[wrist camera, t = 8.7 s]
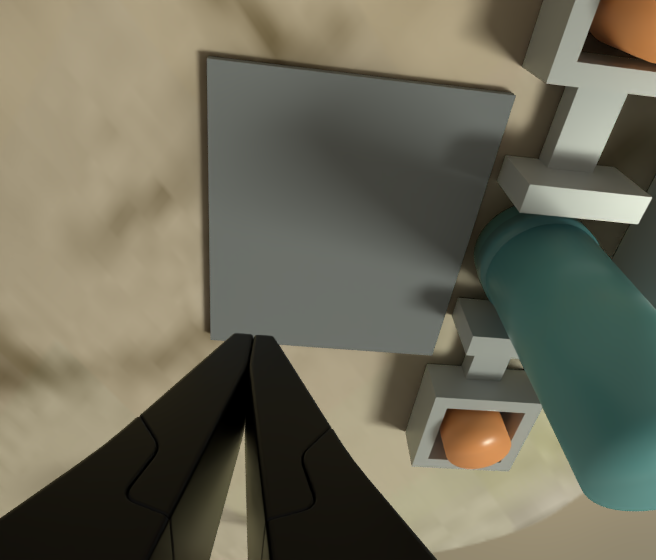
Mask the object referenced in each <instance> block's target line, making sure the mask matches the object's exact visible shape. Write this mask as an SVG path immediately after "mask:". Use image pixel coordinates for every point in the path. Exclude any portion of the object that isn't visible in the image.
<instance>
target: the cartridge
mask: <svg viewBox="0 0 656 560" xmlns="http://www.w3.org/2000/svg"><path fill="white" fill-rule="evenodd" d="M474 263H475V267H476V269H477V275H478V278H479V281H480V283H481V285H482V287H483V289H484V291H485V293H486V295H487V297H488V299H489V301H490V302H491V303H492V304H493V305H494V307H495V309H496V311H497V313H498V315H499V317H500V320H501V322H502V324H503V326H504V328H505V330H506V332H507V334H508V336H509V338H510V341H511V343H512V345H513V347H514V349H515V351H516V353H517V355H518V357H519V359H520V361H521V364H522V366H523V368H524V370H525V372H526V374H527V376H528V378H529V380H530V382H531V384H532V387H533V389H534V391H535V393H536V395H537V397H538V399H539V401H540V403H541V405H542V408H543V410H544V412H545V414H546V416H547V418H548V420H549V422H550V424H551V426H552V428H553V431H554V433H555V435H556V437H557V439H558V441H559V443H560V445H561V447H562V449H563V451H564V454H565V456H566V458H567V460H568V462H569V464H570V466H571V468H572V470H573V472H574V475H575V477H576V479H577V481H578V483H579V485H580V487H581V489H582V491H583V493H584V494H585V495H586V496H587V497H588V498H589V499H590V500H591V501H593V502H594V503H596V504H599V505H601V506H603V507H606V508H610V509H615V510H622V511H648V510H656V309H655V308H654V307H653V306H652V305H651V303H650V302H649V301H648V300H647V299H646V298H645V297H644V296H643V295H642V293H641V292H640V291H639V290H638V289H637V288H636V287H635V286H634V284H633V283H632V282H631V281H630V280H629V279H628V278H627V277H626V275H625V274H624V273H623V272H622V271H621V270H620V269H619V268H618V266H617V265H616V264H615V263H614V262H613V261H612V260H611V259H610V257H609V256H608V255H607V254H606V253H605V252H604V251H603V250H602V249H601V247H600V246H599V243H598V241H597V240H596V238H595V237H594V236H593V235H592V233H591V232H590V231H589V230H588V229H587V228H586V227H585V226H584V225H583V223H582V222H581V221H580V220H579V219H578V218H570V217H560V216H549V215H539V214H529V213H519V211H518V210H517V208H516V207H515V206H513V207H511V208H509V209H507V210H505V211H503V212H502V213H500V214H499V215H497V216H496V217H495V218H493V219H492V220H491V221H490V222H489V223H488V224H487V225H486V227H485V228H484V229H483V230H482V232H481V234H480V235H479V237H478V239H477V242H476V245H475V249H474Z"/></svg>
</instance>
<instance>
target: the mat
mask: <svg viewBox="0 0 656 560" xmlns="http://www.w3.org/2000/svg"><path fill="white" fill-rule="evenodd" d="M515 96H516V95H514V94H513V93H509V92H501V91H493V90H485V89H477V88H468V87H460V86H452V85H444V84H435V83H427V82H419V81H411V80H402V79H394V78H386V77H378V76H369V75H361V74H353V73H345V72H336V71H328V70H320V69H312V68H304V67H295V66H287V65H279V64H271V63H262V62H254V61H246V60H238V59H229V58H221V57H213V56H208V57H207V106H208V181H209V255H210V330H211V340H221V341H226V340H227V339H228V338H229V337H230V336H231V335H233V334H234V333H244V334H252V335H253V338H254V336H255V335H269V336H273V337H274V338H275V339H276V341H277V343H278V344H279V345H291V346H306V347H320V348H334V349H348V350H362V351H376V352H390V353H404V354H418V355H432V354H433V351H434V348H435V345H436V342H437V338H438V335H439V332H440V329H441V326H442V323H443V320H444V317H445V314H446V311H447V307H448V304H449V301H450V298H451V295H452V292H453V289H454V286H455V283H456V279H457V276H458V273H459V270H460V267H461V264H462V261H463V258H464V255H465V252H466V248H467V245H468V242H469V239H470V236H471V233H472V230H473V227H474V224H475V221H476V217H477V214H478V211H479V208H480V205H481V202H482V199H483V196H484V193H485V190H486V186H487V183H488V180H489V177H490V174H491V171H492V168H493V165H494V162H495V159H496V155H497V152H498V149H499V146H500V143H501V140H502V137H503V134H504V131H505V128H506V124H507V121H508V118H509V115H510V112H511V109H512V106H513V103H514V100H515Z"/></svg>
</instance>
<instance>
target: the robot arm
mask: <svg viewBox="0 0 656 560" xmlns="http://www.w3.org/2000/svg"><path fill="white" fill-rule="evenodd" d="M244 427H245V468H246V506H247V543H248V560H437V559H436V558H435V557H434V556H433V554H432V553H431V552H430V551H429V550H428V548H427V547H426V546H425V545H424V544H423V543H422V541H421V540H420V539H419V538H418V537H417V535H416V534H415V533H414V532H413V531H412V530H411V528H410V527H409V526H408V525H407V524H406V522H405V521H404V520H403V519H402V518H401V517H400V515H399V514H398V513H397V512H396V511H395V510H394V508H393V507H392V506H391V505H390V504H389V502H388V501H387V500H386V499H385V498H384V497H383V495H382V494H381V493H380V492H379V491H378V489H377V488H376V487H375V486H374V485H373V484H372V482H371V481H370V480H369V479H368V478H367V476H366V475H365V474H364V473H363V471H362V470H361V469H360V468H359V466H358V465H357V464H356V463H355V461H354V460H353V459H352V457H351V456H350V454H349V453H348V452H347V450H346V449H345V447H344V446H343V444H342V443H341V441H340V440H339V438H338V437H337V435H336V433H335V432H334V430H333V429H331V426H330V425H329V423H328V422H327V420H326V418H325V417H324V415H323V414H322V412H321V411H320V409H319V407H318V406H317V404H316V403H315V401H314V399H313V398H312V396H311V395H310V393H309V392H308V390H307V388H306V387H305V385H304V384H303V382H302V380H301V379H300V377H299V376H298V374H297V373H296V371H295V369H294V368H293V366H292V365H291V363H290V361H289V360H288V358H287V357H286V355H285V354H284V352H283V350H282V349H281V347H280V346H279V344H278V343H277V341H276V339H275V338H274V337H273V336H269V335H255V336H254V338H253V335H252V334H244V333H234V334H233V335H231V336H230V337H229V338H228V339H227V340H226V341H225V342H223V343H222V344H221V345H220V346H219V347H218V348H217V349H215V350H214V351H213V352H212V353H211V354H210V355H209V356H207V357H206V358H205V359H204V360H203V361H202V362H201V363H199V364H198V365H197V366H196V367H195V368H194V369H193V370H191V371H190V372H189V373H188V374H187V375H186V376H184V377H183V378H182V379H181V380H180V381H179V382H178V383H176V384H175V385H174V386H173V387H172V388H171V389H170V390H168V391H167V392H166V393H165V394H164V395H163V396H162V397H160V398H159V399H158V400H157V401H156V402H155V403H154V404H152V405H151V406H150V407H149V408H148V409H147V410H146V411H144V412H143V413H142V414H141V415H140V417H137V418H135V419H134V420H133V421H132V422H131V423H130V424H129V425H127V426H126V427H125V428H124V429H123V430H121V431H120V432H119V433H118V434H117V435H115V436H114V437H113V438H112V439H111V440H109V441H108V442H107V443H106V444H104V445H103V446H102V447H100V448H99V449H98V450H96V451H95V452H94V453H92V454H91V455H89V456H88V457H87V458H85V459H84V460H83V461H81V462H80V463H79V464H77V465H76V466H74V467H73V468H71V469H70V470H69V471H67V472H66V473H64V474H63V475H61V476H60V477H59V478H57V479H56V480H54V481H53V482H51V483H50V484H49V485H47V486H46V487H44V488H43V489H41V490H40V491H39V492H37V493H36V494H34V495H33V496H31V497H30V498H28V499H27V500H26V501H24V502H23V503H21V504H20V505H18V506H17V507H16V508H14V509H13V510H11V511H10V512H8V513H7V514H6V515H4V516H3V517H1V518H0V560H210V556H211V552H212V548H213V545H214V541H215V537H216V534H217V530H218V526H219V523H220V519H221V515H222V512H223V508H224V504H225V500H226V497H227V493H228V489H229V486H230V482H231V478H232V475H233V471H234V467H235V464H236V460H237V456H238V452H239V449H240V445H241V441H242V437H243V433H244Z"/></svg>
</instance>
